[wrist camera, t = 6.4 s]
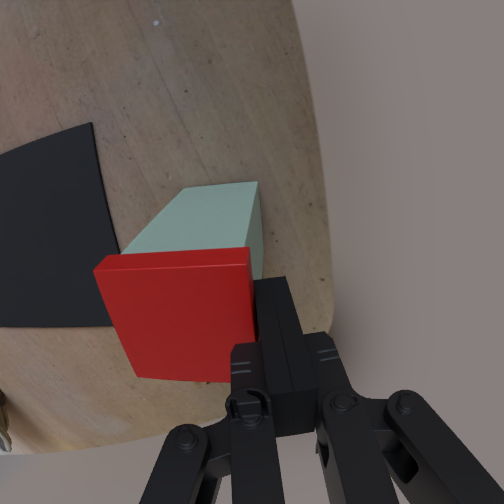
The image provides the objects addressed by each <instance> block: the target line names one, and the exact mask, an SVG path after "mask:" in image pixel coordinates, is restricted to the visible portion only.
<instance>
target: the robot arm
mask: <svg viewBox="0 0 504 504" xmlns="http://www.w3.org/2000/svg"><path fill="white" fill-rule="evenodd" d="M253 283H254V292H255V302H256V311H257V320H258V328H259V336H260V341H257V342H248V343H239V344H235V346H234V347H233V349H232V351H231V353H230V364H231V366H230V369H231V394H230V395H229V396H228V398H227V399H226V403H225V407H226V411H227V416H226V417H225V418H224V419H222V420H221V421H220V422H218V423H215V424H213V425H210V426H207V427H204V428H201V427H199V426H197V425H194V424H183V425H180V426H177V427H175V428H174V429H172V430H171V431H170V432H169V434H168V435H167V437H166V439H165V442H164V444H163V446H162V449H161V451H160V454H159V456H158V459H157V461H156V464H155V466H154V468H153V471H152V473H151V476H150V478H149V481H148V483H147V485H146V488H145V490H144V493H143V495H142V498H141V500H140V502H139V504H215V502H216V499H217V495H218V491H219V488H220V484H221V480H222V477H224V476H227V475H230V474H231V484H232V504H285V500H284V493H283V487H282V479H281V472H280V465H279V459H278V451H277V444H276V437H284V436H291V435H297V434H303V433H309V432H314V430H315V428H316V433H317V443H316V454H317V453H319V456H320V461H321V465H322V470H323V474H324V479H325V483H326V487H327V492H328V496H329V501H330V504H399V501H398V499H397V495H396V492H395V489H394V486H393V483H392V480H391V477H392V479H393V480H394V482H395V483H396V484H397V486H398V487H399V489H400V490H401V491H402V493H403V494H404V496H405V497H406V498H407V500H408V501H409V503H410V504H504V491H503V490H502V489H501V487H500V486H499V485H498V484H497V482H496V481H495V480H494V479H493V478H492V477H491V475H490V474H489V473H488V472H487V471H486V469H484V467H483V466H482V465H481V464H480V463H479V461H478V460H477V459H476V458H475V457H474V455H473V454H472V453H471V452H470V451H469V450H468V448H467V447H466V446H465V445H464V444H463V443H462V442H461V440H460V439H459V438H458V437H457V436H456V435H455V434H454V432H453V431H452V430H451V429H450V428H449V427H448V426H447V425H446V423H445V422H444V421H443V420H442V419H441V418H440V417H439V416H438V414H437V413H436V412H435V411H434V410H433V409H432V408H431V407H430V405H429V404H428V403H427V402H426V401H425V400H424V399H423V398H422V396H420V395H419V394H418V393H416V392H414V391H411V390H400V391H397V392H395V393H393V394H392V395H391V396H390V397H389V399H370V398H365V397H363V396H360V395H359V394H358V393H356V392H355V391H354V390H353V388H352V387H351V384H350V382H349V379H348V377H347V374H346V372H345V369H344V366H343V364H342V361H341V359H340V357H339V354H338V351H337V349H336V347H335V344H334V341H333V339H332V338H331V337H330V336H329V335H328V334H327V333H326V332H324V331H323V332H317V333H310V334H304V335H303V332H302V329H301V325H300V322H299V319H298V316H297V312H296V309H295V306H294V302H293V299H292V296H291V293H290V289H289V286H288V283H287V280H286V277H285V276H283V277H275V278H267V279H258V280H253ZM390 476H391V477H390Z"/></svg>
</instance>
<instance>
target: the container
mask: <svg viewBox="0 0 504 504" xmlns="http://www.w3.org/2000/svg"><path fill="white" fill-rule="evenodd" d="M263 258H264V243H263V231H262V220H261V209H260V198H259V187H258V181H255V182H242V183H230V184H219V185H209V186H199V187H189V188H184V189H183V190H182V191H181V192H180V193H179V194H178V195H177V196H176V197H175V198H174V199H173V200H172V201H171V202H170V203H169V204H168V205H167V206H166V207H165V208H164V209H163V210H162V211H161V212H160V213H159V214H158V215H157V216H156V217H155V218H154V219H153V220H152V221H151V222H150V223H149V224H148V225H147V226H146V227H145V228H144V229H143V230H142V231H141V232H140V233H139V234H138V235H137V237H136V238H135V239H134V240H133V241H132V242H131V243H130V244H129V245H128V246H127V247H126V248H125V249H124V251H123V252H122V253H121V254H117V255H107V256H106V257H105V258H104V259H103V260H102V261H101V263H100V264H99V265H98V266H97V267H96V268H95V269H94V270H93V273H94V276H95V278H96V281H97V284H98V287H99V290H100V292H101V295H102V298H103V300H104V303H105V305H106V308H107V311H108V313H109V316H110V318H111V320H112V323H113V325H114V328H115V330H116V332H117V335H118V337H119V339H120V342H121V344H122V346H123V348H124V350H125V353H126V355H127V357H128V359H129V361H130V363H131V365H132V367H133V370H134V372H135V374H136V376H137V377H142V378H152V379H164V380H177V381H195V382H226V383H231V369H230V366H231V364H230V353H231V351H232V349H233V347H234V346H235V344H239V343H248V342H257V341H260V338H259V329H258V320H257V311H256V302H255V292H254V283H253V280H258V279H262V272H263Z"/></svg>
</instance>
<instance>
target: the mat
mask: <svg viewBox="0 0 504 504" xmlns="http://www.w3.org/2000/svg"><path fill="white" fill-rule="evenodd" d="M117 254H120V250H119V247H118V243H117V239H116V236H115V232H114V228H113V224H112V220H111V216H110V212H109V208H108V204H107V200H106V195H105V191H104V186H103V181H102V176H101V171H100V166H99V161H98V156H97V150H96V144H95V138H94V132H93V125H92V122H90V123H86V124H83V125H80V126H76V127H73V128H70V129H67V130H64V131H61V132H58V133H55V134H52V135H49V136H46V137H44V138H41V139H38V140H36V141H33V142H30V143H28V144H25V145H23V146H20V147H18V148H15V149H13V150H11V151H8V152H6V153H4V154H1V155H0V327H93V326H114V325H113V323H112V320H111V318H110V316H109V313H108V311H107V308H106V305H105V303H104V300H103V298H102V295H101V292H100V290H99V287H98V284H97V281H96V278H95V276H94V273H93V270H94V269H95V268H96V267H97V266H98V265H99V264H100V263H101V261H102V260H103V259H104V258H105V257H106V256H107V255H117Z"/></svg>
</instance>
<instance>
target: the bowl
mask: <svg viewBox="0 0 504 504" xmlns="http://www.w3.org/2000/svg"><path fill="white" fill-rule="evenodd" d="M4 405H5V398H4V396H3V395H2V393H1V392H0V450H3V451H7V452H11V450H12V448H11V444H12V442H11V438H10V437H9V435H8V433H7V430H8V427H9V421H8V415H7V411H6V409H5V407H4Z"/></svg>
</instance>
